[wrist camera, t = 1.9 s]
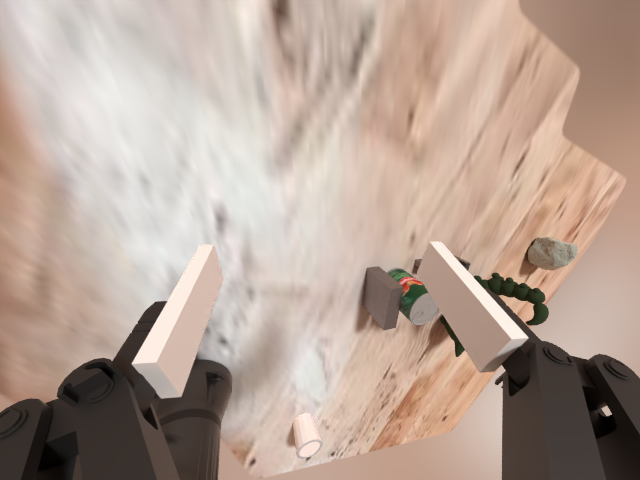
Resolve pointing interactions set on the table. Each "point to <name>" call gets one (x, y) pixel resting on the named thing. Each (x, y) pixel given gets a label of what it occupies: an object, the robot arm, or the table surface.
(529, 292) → the toy figurine
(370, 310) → the press frame
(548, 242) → the decorative stone
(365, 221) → the table surface
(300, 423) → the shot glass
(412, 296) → the canned tomato
